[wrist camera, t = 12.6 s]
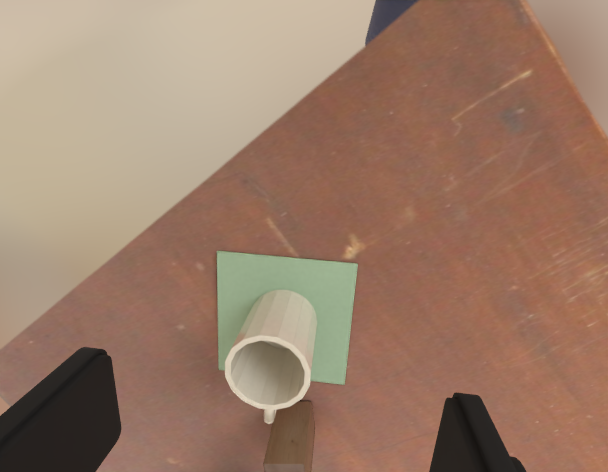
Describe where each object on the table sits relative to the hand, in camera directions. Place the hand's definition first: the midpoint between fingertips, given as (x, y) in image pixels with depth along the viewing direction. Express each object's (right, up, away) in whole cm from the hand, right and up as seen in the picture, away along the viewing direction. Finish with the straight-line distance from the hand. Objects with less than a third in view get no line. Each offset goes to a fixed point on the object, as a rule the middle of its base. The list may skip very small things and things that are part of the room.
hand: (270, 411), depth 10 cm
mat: (-1, -4, +27) cm, 27 cm away
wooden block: (0, -16, +30) cm, 34 cm away
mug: (-1, -5, +27) cm, 27 cm away
